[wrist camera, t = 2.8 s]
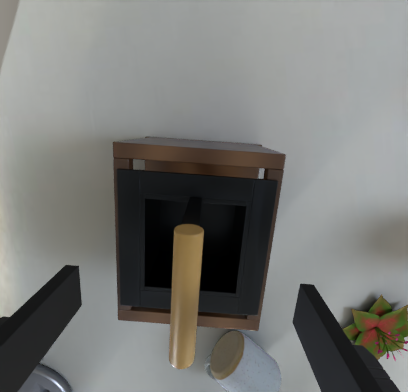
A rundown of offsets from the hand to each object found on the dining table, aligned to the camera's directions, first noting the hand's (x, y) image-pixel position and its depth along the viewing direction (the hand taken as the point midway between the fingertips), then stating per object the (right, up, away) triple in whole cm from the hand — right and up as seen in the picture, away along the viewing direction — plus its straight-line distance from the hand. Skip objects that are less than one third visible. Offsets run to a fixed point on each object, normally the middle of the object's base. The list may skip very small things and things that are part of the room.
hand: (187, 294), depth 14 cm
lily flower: (+28, -14, +23) cm, 39 cm away
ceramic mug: (+6, -20, +25) cm, 33 cm away
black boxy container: (0, +3, +13) cm, 13 cm away
